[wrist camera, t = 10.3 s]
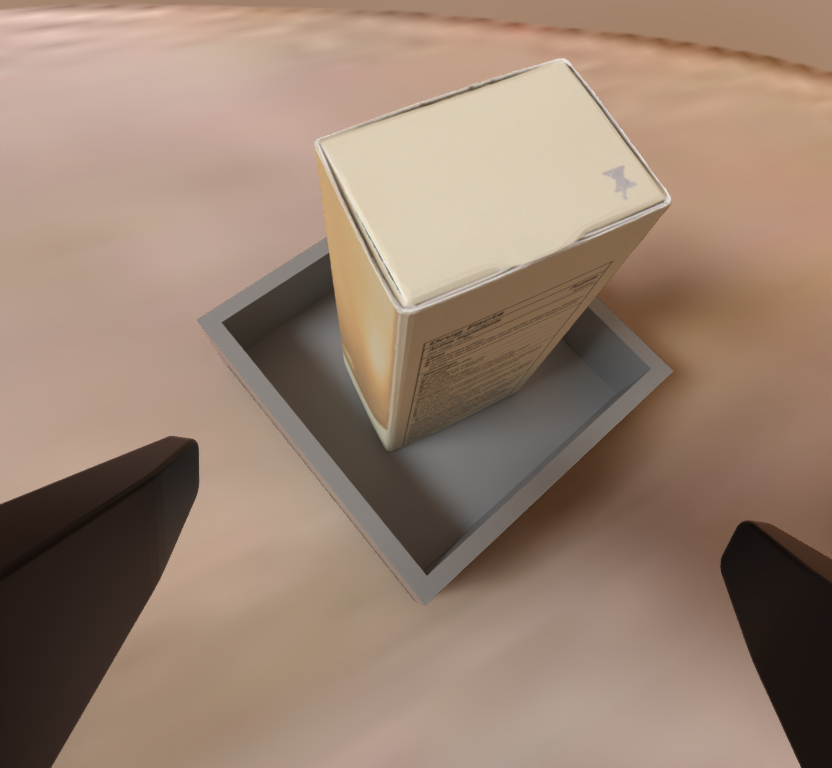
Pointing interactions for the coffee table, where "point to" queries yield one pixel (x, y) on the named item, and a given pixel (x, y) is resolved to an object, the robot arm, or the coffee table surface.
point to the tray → (437, 453)
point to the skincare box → (475, 239)
